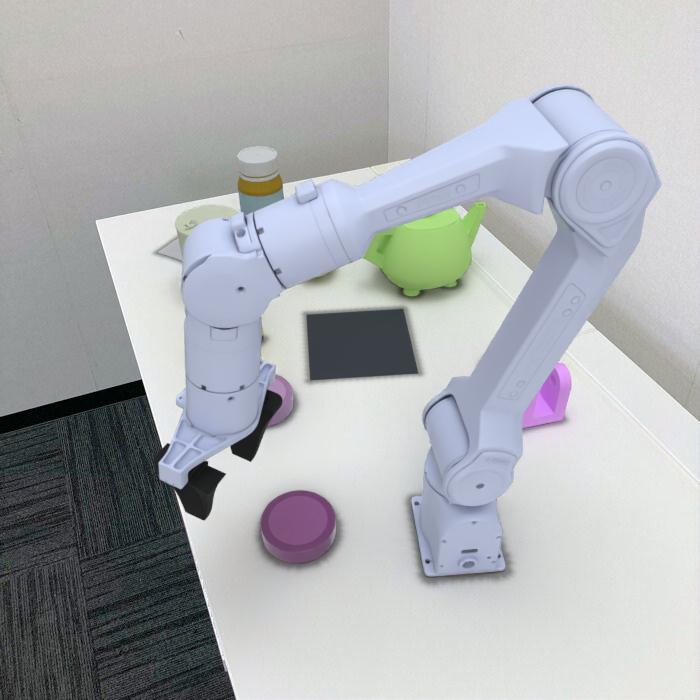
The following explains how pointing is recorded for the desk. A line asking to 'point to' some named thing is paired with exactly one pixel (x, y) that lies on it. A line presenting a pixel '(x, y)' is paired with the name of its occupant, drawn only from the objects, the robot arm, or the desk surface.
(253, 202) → the bottle
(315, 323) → the placemat
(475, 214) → the teapot
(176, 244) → the grey square tile
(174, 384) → the desk surface
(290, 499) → the plum dish
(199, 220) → the can
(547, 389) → the bracket
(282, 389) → the light purple flat disc
